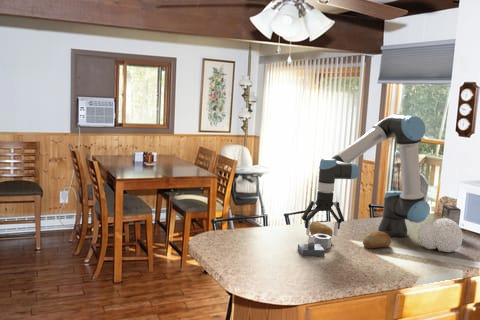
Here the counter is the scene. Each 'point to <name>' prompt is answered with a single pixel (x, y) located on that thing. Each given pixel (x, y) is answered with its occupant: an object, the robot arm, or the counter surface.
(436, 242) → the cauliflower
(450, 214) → the coffee box
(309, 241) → the pillow block
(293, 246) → the counter surface
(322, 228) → the potato
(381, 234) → the bread roll
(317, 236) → the hub
